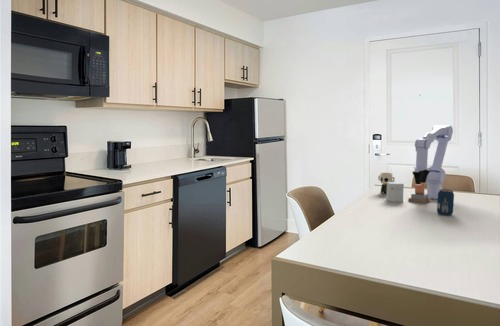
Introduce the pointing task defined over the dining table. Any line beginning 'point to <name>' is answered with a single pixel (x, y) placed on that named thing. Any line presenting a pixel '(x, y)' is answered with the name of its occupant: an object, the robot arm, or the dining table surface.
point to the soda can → (445, 202)
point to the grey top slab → (419, 196)
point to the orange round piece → (419, 189)
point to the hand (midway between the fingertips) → (420, 183)
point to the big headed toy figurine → (385, 181)
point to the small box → (395, 191)
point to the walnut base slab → (419, 200)
